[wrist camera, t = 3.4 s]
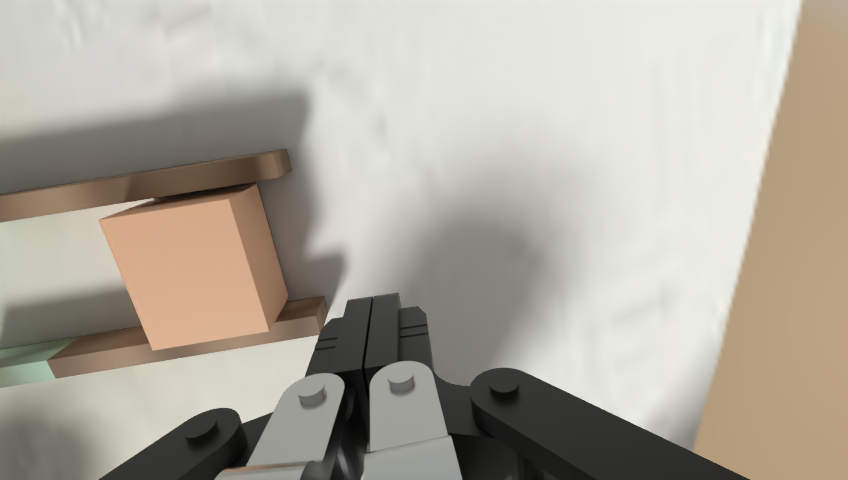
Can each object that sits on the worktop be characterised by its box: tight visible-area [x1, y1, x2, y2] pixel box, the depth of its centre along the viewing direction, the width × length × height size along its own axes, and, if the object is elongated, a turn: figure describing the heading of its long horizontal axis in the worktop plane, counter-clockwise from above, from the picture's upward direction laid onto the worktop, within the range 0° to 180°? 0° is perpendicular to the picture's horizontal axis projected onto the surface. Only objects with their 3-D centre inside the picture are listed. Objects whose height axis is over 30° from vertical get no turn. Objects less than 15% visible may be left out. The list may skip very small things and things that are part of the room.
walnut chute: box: [0, 149, 328, 388], centre depth 22 cm, size 20×10×2 cm, turn 98°
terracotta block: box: [98, 184, 289, 351], centre depth 22 cm, size 6×7×4 cm
